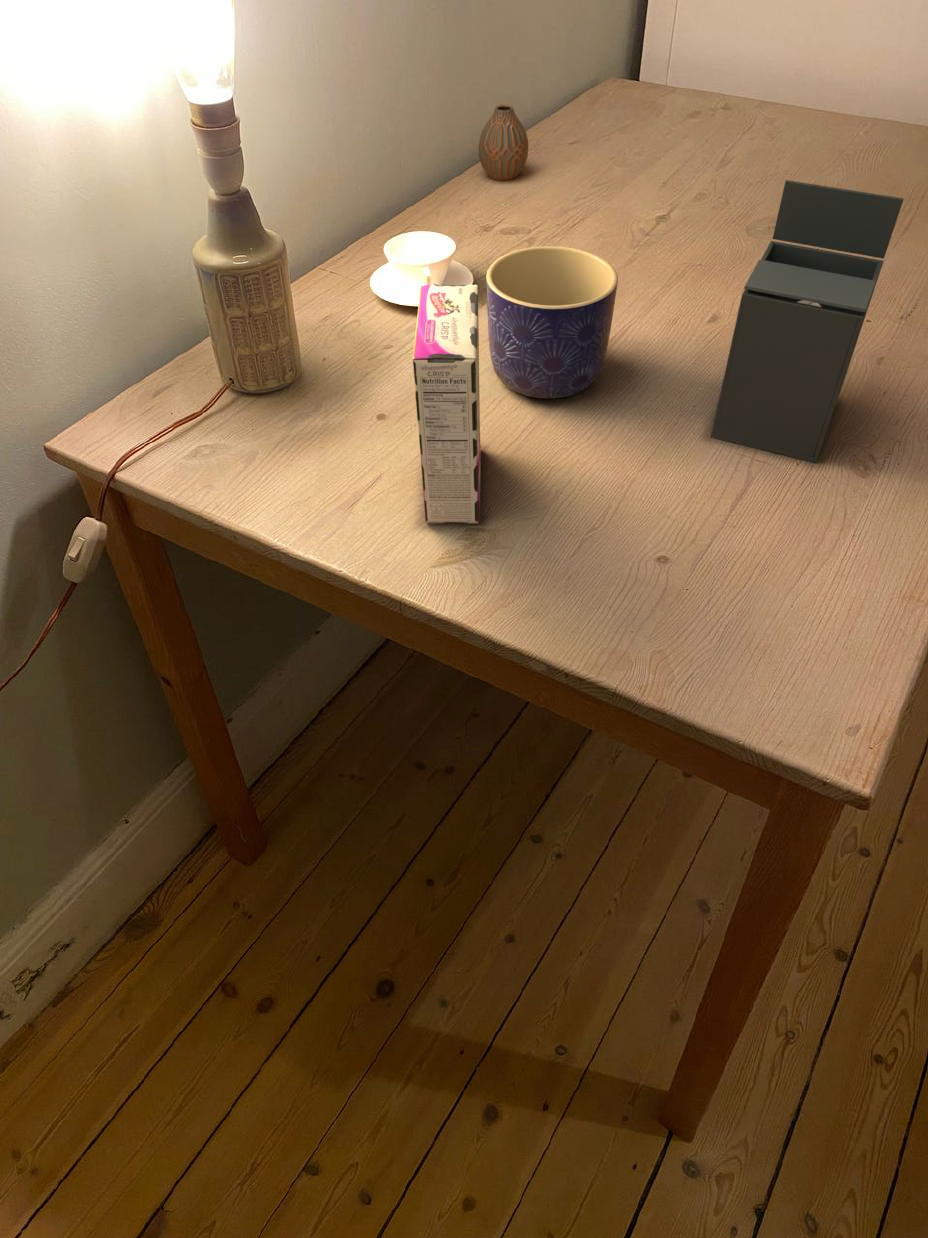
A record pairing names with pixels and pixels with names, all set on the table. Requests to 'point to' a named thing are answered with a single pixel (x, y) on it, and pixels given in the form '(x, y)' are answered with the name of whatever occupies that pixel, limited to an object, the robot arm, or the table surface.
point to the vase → (503, 144)
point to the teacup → (417, 267)
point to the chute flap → (811, 285)
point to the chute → (801, 323)
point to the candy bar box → (448, 402)
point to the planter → (549, 319)
